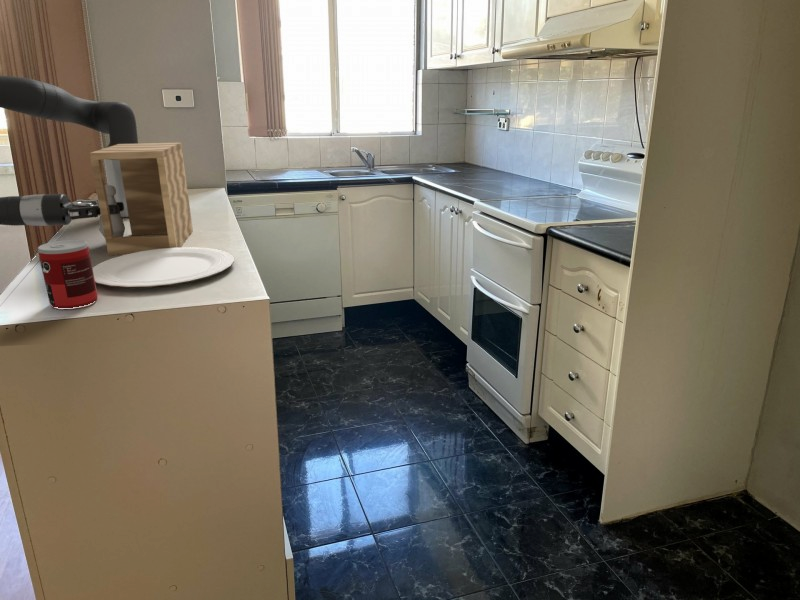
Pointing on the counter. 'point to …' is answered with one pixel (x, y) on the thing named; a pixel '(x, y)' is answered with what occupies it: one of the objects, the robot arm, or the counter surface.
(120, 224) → the salt shaker
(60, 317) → the counter surface
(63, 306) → the canned food
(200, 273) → the plate
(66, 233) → the counter surface
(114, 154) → the open-side box
